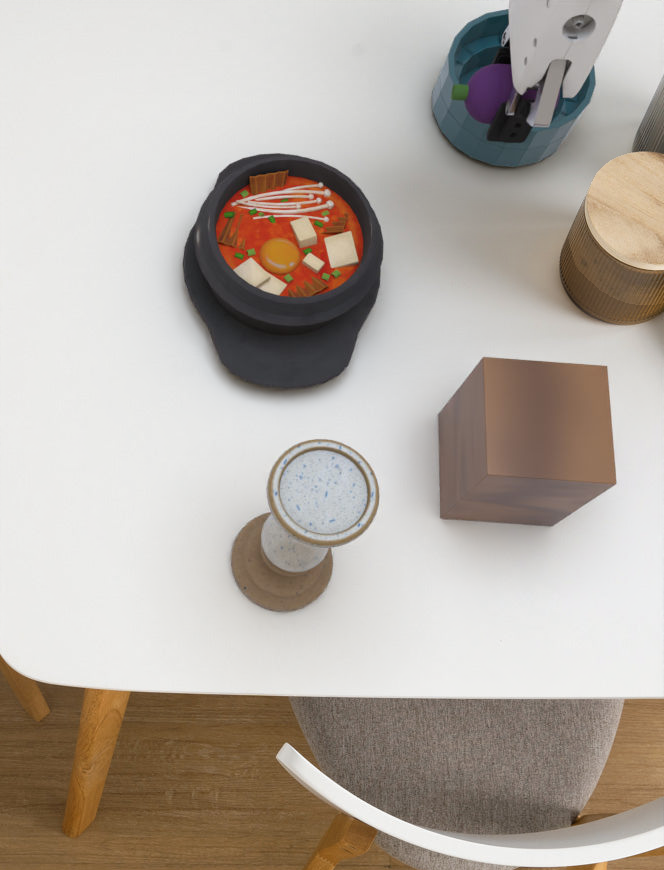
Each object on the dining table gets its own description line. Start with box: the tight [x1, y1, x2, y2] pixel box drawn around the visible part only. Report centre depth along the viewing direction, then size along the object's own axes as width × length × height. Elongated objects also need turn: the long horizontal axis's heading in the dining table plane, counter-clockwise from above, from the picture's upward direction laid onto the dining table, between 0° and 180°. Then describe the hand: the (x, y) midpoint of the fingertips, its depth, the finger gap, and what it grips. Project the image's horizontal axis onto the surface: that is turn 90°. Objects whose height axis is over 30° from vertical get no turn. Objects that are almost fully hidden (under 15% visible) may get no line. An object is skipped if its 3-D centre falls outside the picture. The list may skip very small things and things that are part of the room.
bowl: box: [431, 8, 597, 168], centre depth 96 cm, size 14×14×6 cm
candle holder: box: [230, 438, 380, 612], centre depth 74 cm, size 9×9×20 cm
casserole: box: [182, 152, 384, 390], centre depth 88 cm, size 25×19×8 cm
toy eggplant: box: [451, 64, 560, 124], centre depth 79 cm, size 9×5×5 cm, turn 87°
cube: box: [437, 356, 618, 527], centre depth 81 cm, size 10×10×12 cm
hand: (503, 111), depth 81 cm, fingers closed on toy eggplant, 4 cm apart
